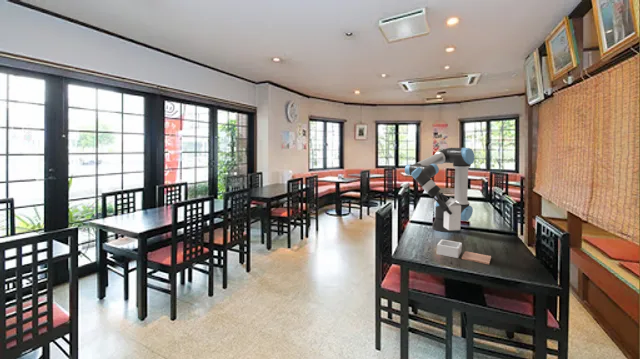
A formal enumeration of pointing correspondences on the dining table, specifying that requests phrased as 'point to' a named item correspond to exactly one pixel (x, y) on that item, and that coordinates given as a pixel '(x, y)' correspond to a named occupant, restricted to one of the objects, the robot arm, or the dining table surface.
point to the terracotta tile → (476, 257)
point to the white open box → (449, 248)
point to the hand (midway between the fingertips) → (457, 216)
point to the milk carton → (448, 220)
